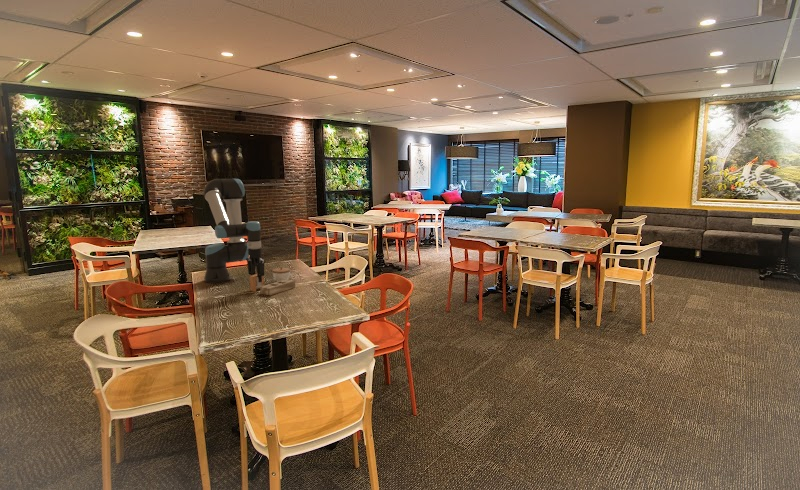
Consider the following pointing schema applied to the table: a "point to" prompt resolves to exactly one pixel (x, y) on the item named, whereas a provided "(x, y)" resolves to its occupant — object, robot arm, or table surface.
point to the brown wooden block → (277, 287)
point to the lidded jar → (281, 274)
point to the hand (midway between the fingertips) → (257, 286)
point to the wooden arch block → (254, 282)
